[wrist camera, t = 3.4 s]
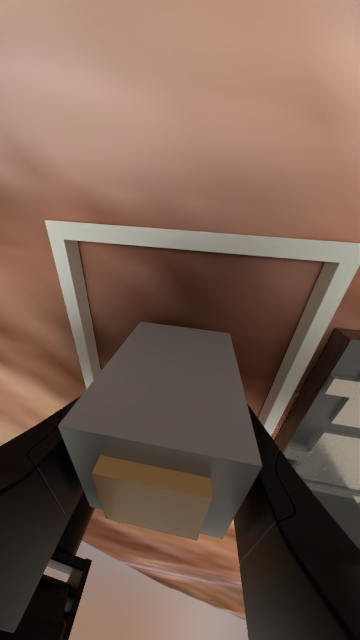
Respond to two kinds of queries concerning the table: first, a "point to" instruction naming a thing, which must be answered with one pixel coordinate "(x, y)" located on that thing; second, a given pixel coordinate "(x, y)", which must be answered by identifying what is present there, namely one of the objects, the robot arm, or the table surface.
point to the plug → (166, 433)
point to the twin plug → (343, 513)
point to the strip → (328, 421)
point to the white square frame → (323, 298)
